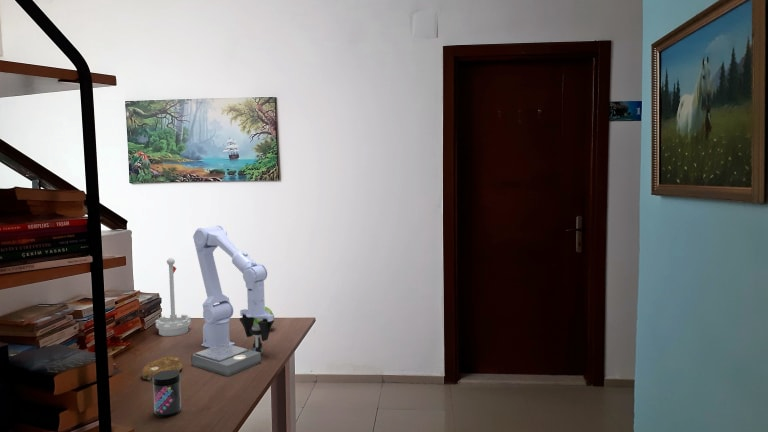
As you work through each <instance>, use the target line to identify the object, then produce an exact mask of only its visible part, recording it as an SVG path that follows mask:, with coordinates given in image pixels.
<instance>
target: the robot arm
mask: <svg viewBox="0 0 768 432" xmlns="http://www.w3.org/2000/svg"><path fill="white" fill-rule="evenodd" d="M192 239H193V241H194V242H193V243H194V247H195V251H196V255H197V260H198V263H199V268H200V272H201V276H202V280H203V285H204V288H205V293H206V299H205V301H204V302H203V303H202V309H203V310H202V317H203V320H204V321H205V323H204V324H203V326H202V342H203V343H201V346H203V347H206V348H208V349H209V348H212V347H214V346H217V345H220V344H223V343H226V344H230V345H235V344H236V343H235V342H233V341H230V321H231V318H232V316H233V315H234V307H233V305H232V302H231V301H230V298H229V297H228V296H226V295H225V294H223V291H222V286H221V283H220V278H219V275H218V269H217V265H216V262H215V258H214V257H215V256H214V251H215V250H216V249H218V247H219V248H220V249H221V250H222V251H224V252H225V253H226V254H227V255H228V256H229V257H230V258H231V263H232V264H233V265H234V266H235V267H236V269H238V271H240V272H241V273H242V279H243V281H244V283H245V287H246V289H247V290H246V292H247V293H246V295H247V308H246V309H245V308H243V309H240V311H239V315H240V316H241V317H240V318H239V321H240V322H241V324H242V326H243V328H244V331H245V335H246V338H250V337H254V336H253V335H251V334H250V331H249V329H250V328H252V326H253V323H254V319H255V318H258V319H262V320H263V321H260V322H258V324H259V326H260V330H261V335H260V339H261V341H262V342H265V341H268V339H269V335H270V332H271V328H272V326H273V324H274V323H275V319H274V320H273V315H274V314H273V315H271V314H269V313H267V312H265V307H266V305H265V280H266V279H267V277H268V271H267V270H268V269H266V267H265V265H264V264H262V263H261V264H259V263H257V262H256V261H254V259H252V258H251V256H250V255H249V253H248V252H247V251H243V250H242V251H241V250H239V249H238V248H237V247H236V245H235V243H234V242H232V240H231V239H230V238H229V237H228V232H227V230H225V229H224V227H223V226H222V225H215V226H207V227H197V228H196V230H195V232H194V233H193V236H192Z"/></svg>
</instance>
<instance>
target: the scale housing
mask: <svg viewBox="0 0 768 432" xmlns="http://www.w3.org/2000/svg"><path fill="white" fill-rule="evenodd" d="M247 349H248V352H245V353H242V354H240V355H237V356H234V357H232V358H229V359H226V360H224V361H221V362H216V361H213V360H210V359H207V358H203V357H200V356H197V355H195V353H192V354H191V355H190V363H191V366H194V367H196V368H199V369H203V370H205V371H208V372H209V371H210V372H212V373H214V374H219V375H222V376H223V377H224V376H225V377H229V376H232V375H235V374H237V373H239V372H243V371H245V370H247V369H250V368H251V367H254V366H257V365H259V364H261V363H262V356H261V355H262V352H261V353H260V352H256V351H253V349H252V350H251V349H249V348H247Z"/></svg>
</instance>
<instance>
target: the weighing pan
mask: <svg viewBox="0 0 768 432" xmlns="http://www.w3.org/2000/svg"><path fill="white" fill-rule="evenodd" d="M248 349H249V348H245V347H241V346H237V345H235V344H233V345H230V344H226V343H223V344H220V345H217V346H214V347H212V348H209V347H208V348H205V349H203V350H200V351H197V352H195V353H194V354H195V355H197V356H200V357H203V358H207V359H210V360H213V361H216V362H221V361H224V360H226V359H229V358H232V357H234V356H237V355H240V354H242V353H245V352H248Z"/></svg>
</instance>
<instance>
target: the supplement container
mask: <svg viewBox="0 0 768 432" xmlns="http://www.w3.org/2000/svg"><path fill="white" fill-rule="evenodd" d="M152 384H153V385H152V387H153V391H152V392H153V407H154V409H153V410H154V414H155V416H157V417H159V418H169V417H172V416H175V415H177V414H179V412H180V411H181V410H182V396H181V373H180V371H177V370H165V371H161V372H158V373H156V374H154V375H153V382H152Z"/></svg>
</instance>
